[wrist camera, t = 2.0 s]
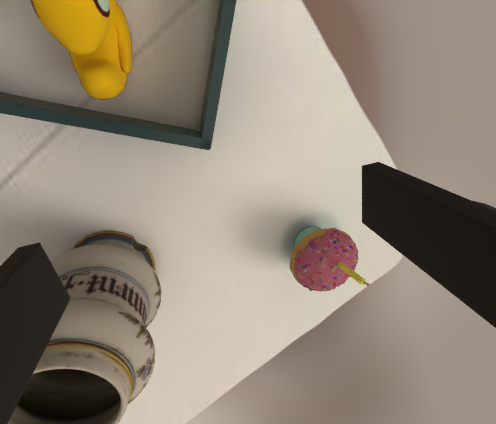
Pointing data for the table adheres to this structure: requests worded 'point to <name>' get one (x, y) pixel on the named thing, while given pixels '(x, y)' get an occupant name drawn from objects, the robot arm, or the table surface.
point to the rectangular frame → (137, 126)
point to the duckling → (91, 41)
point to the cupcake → (324, 259)
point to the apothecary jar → (96, 335)
